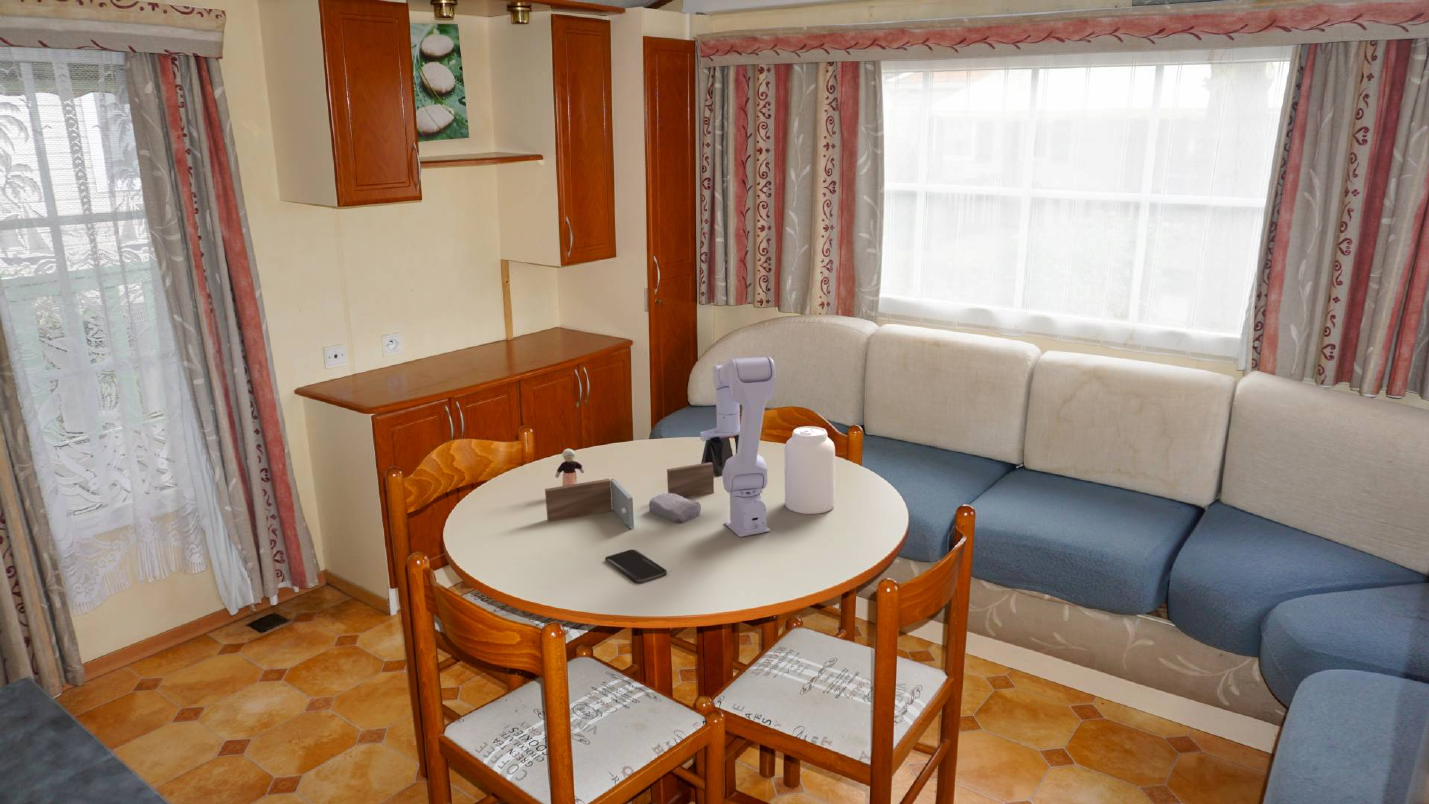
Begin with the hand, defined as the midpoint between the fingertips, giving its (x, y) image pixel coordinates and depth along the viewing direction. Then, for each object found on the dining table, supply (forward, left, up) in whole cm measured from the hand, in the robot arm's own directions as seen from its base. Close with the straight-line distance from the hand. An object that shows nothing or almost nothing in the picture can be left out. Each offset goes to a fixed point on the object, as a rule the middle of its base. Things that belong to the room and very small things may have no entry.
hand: (729, 463), depth 248 cm
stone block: (0, +15, -11) cm, 18 cm away
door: (+2, +29, -10) cm, 30 cm away
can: (-11, -17, -11) cm, 23 cm away
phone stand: (+24, -7, -11) cm, 27 cm away
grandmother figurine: (+24, +35, -11) cm, 44 cm away
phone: (-26, +34, -11) cm, 44 cm away
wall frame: (+9, +23, -10) cm, 27 cm away
